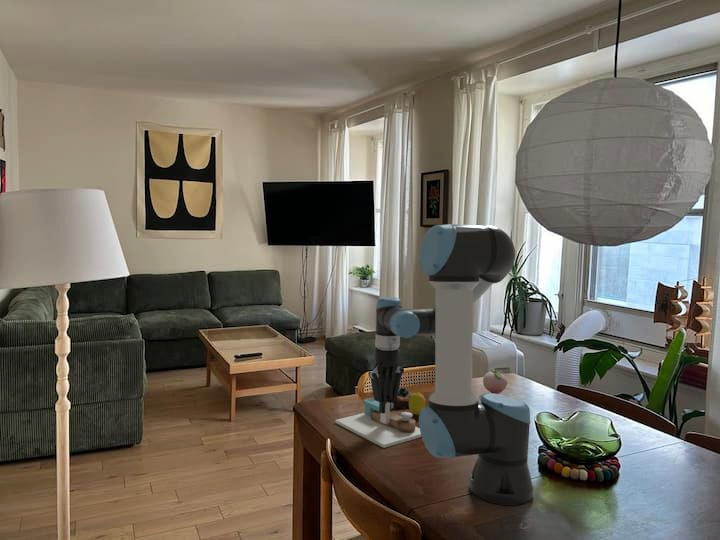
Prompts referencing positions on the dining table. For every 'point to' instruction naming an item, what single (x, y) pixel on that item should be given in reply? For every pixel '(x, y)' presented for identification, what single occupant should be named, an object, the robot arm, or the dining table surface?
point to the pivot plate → (378, 430)
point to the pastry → (402, 399)
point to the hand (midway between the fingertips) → (384, 422)
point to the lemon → (416, 403)
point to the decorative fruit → (494, 382)
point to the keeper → (371, 406)
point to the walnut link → (396, 422)
